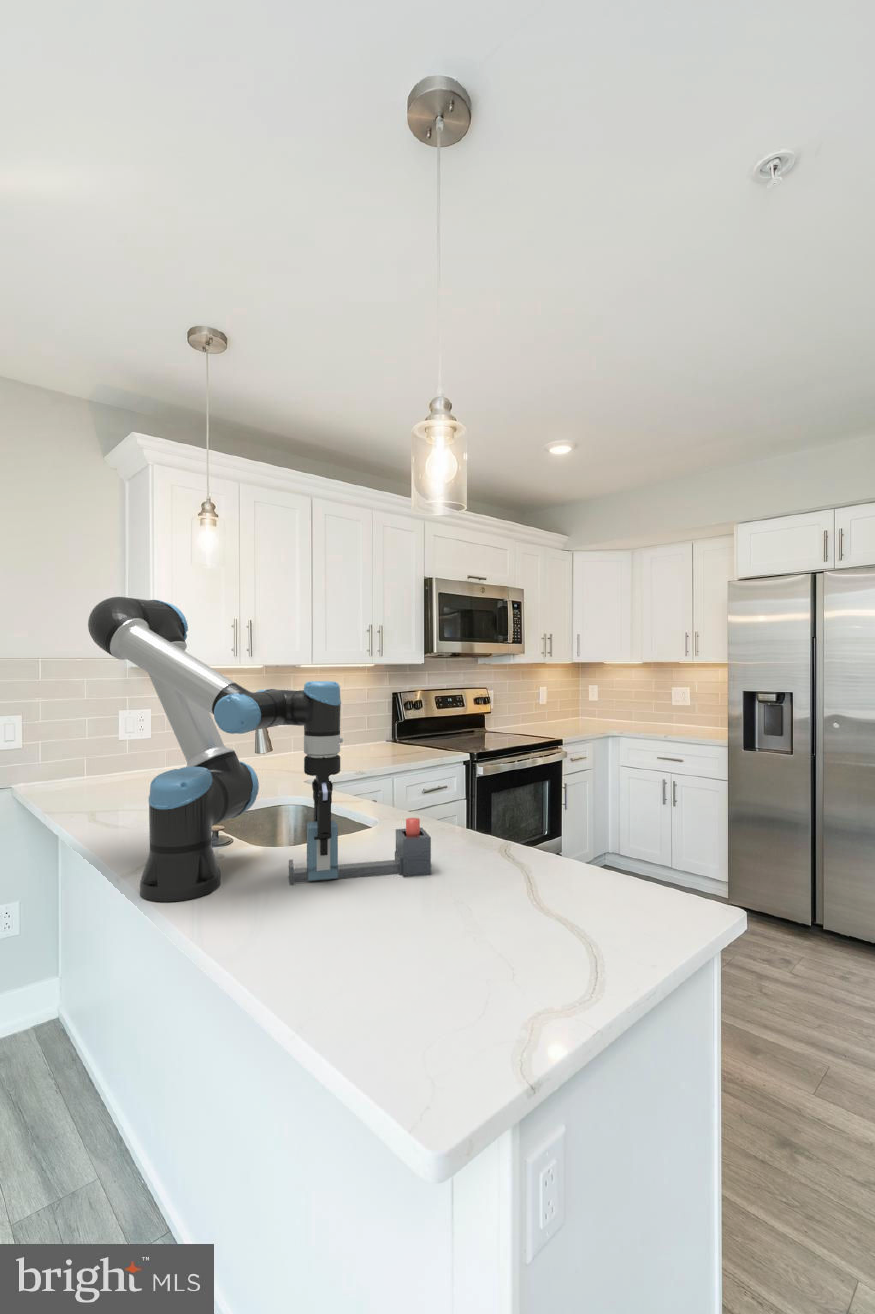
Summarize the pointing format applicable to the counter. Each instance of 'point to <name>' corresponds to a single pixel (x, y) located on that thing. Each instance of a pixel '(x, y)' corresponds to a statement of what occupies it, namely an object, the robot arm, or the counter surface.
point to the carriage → (312, 853)
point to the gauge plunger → (412, 827)
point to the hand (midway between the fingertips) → (322, 865)
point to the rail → (351, 870)
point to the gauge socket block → (414, 853)
